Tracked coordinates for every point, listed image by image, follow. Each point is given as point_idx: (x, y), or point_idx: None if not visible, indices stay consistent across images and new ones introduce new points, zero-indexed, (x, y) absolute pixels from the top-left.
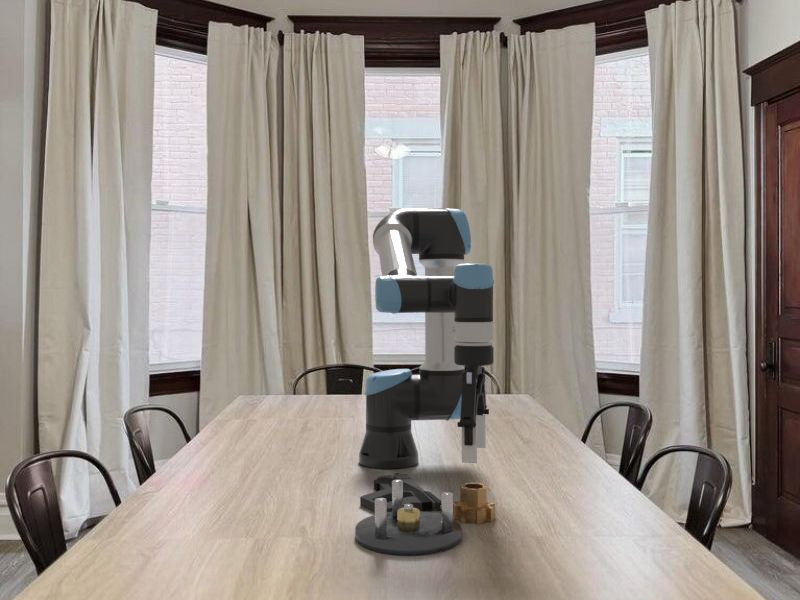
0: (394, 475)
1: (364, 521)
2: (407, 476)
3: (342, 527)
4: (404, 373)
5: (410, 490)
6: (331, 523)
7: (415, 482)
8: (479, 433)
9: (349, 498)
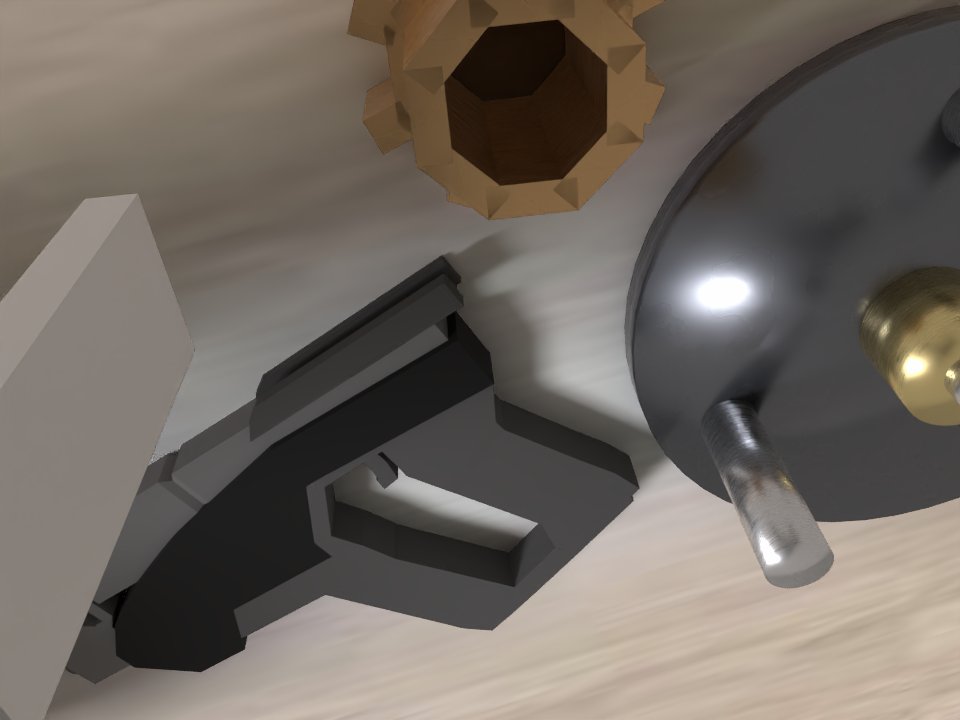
0: None
1: (834, 507)
2: None
3: None
4: None
5: (289, 497)
6: (750, 596)
7: None
8: (96, 382)
9: (406, 654)
